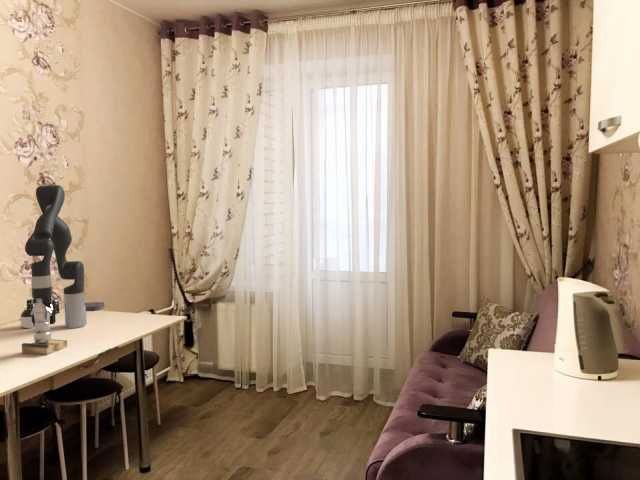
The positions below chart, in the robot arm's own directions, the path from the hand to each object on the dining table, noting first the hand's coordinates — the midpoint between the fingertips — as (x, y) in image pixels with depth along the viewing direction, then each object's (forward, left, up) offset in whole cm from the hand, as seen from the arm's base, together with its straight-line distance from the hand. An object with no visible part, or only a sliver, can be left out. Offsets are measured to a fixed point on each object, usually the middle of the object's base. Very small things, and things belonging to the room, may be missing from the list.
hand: (43, 323), depth 213 cm
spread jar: (-35, -37, -12) cm, 52 cm away
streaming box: (-75, -33, -12) cm, 83 cm away
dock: (0, 0, -12) cm, 12 cm away
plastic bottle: (0, -1, -9) cm, 9 cm away
